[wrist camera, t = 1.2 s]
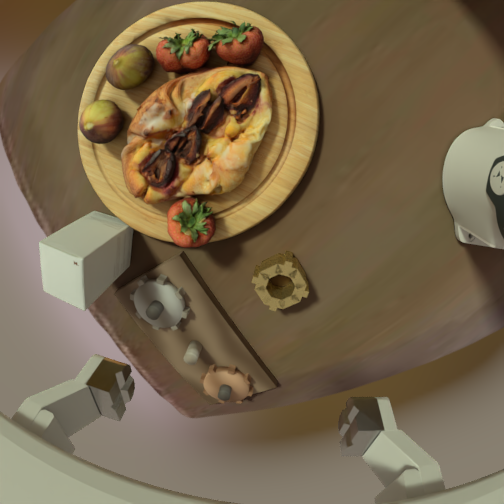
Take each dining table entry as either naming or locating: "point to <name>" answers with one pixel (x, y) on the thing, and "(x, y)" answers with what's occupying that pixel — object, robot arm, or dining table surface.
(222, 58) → the wooden plate with food
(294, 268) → the brass gear
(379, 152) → the dining table surface
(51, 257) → the supplement box
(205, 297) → the gear board
